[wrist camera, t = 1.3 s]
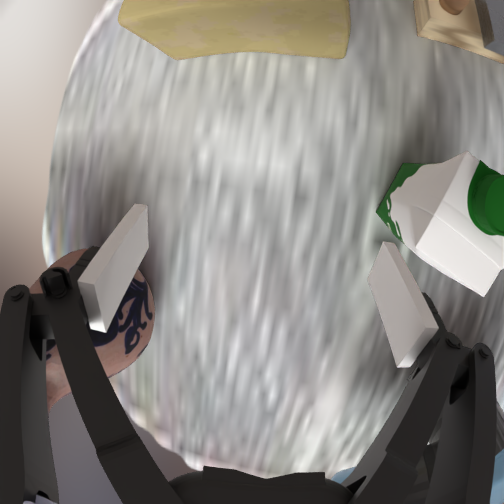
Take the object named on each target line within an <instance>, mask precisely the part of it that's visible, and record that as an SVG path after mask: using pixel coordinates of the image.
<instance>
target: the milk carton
mask: <svg viewBox="0 0 504 504" xmlns="http://www.w3.org/2000/svg"><path fill="white" fill-rule="evenodd" d="M376 213H377V214H378V215H379V217H380V218H381V219H382V220H383V221H384V223H385V224H386V225H387V226H388V228H389V229H390V230H391V231H392V233H393V234H394V235H395V236H396V237H397V238H398V239H399V240H400V241H402V242H403V243H404V244H405V245H406V246H407V247H408V248H409V249H411V250H412V251H413V252H414V253H415V254H416V255H417V256H419V257H420V258H421V259H422V260H424V261H425V262H426V263H428V264H430V265H431V266H433V267H434V268H436V269H437V270H439V271H440V272H442V273H443V274H445V275H447V276H448V277H450V278H452V279H454V280H455V281H457V282H459V283H461V284H462V285H464V286H466V287H468V288H469V289H471V290H473V291H474V292H476V293H478V294H479V295H481V296H483V297H484V296H485V295H486V293H487V292H488V290H489V288H490V287H491V285H492V284H493V282H494V280H495V279H496V277H497V275H498V274H499V272H500V270H503V268H504V175H501V174H500V173H498V172H497V171H495V170H492V169H490V168H489V167H488V166H487V165H485V164H484V163H483V162H482V161H481V160H480V161H479V160H477V159H476V158H475V157H474V156H473V155H472V154H471V153H469V152H468V151H465V152H463V153H461V154H459V155H457V156H455V157H453V158H451V159H449V160H447V161H445V162H443V163H433V164H416V163H403V164H402V166H401V168H400V170H399V172H398V173H397V175H396V177H395V179H394V181H393V183H392V184H391V186H390V188H389V190H388V192H387V193H386V195H385V197H384V199H383V201H382V202H381V204H380V206H379V208H378V209H377V211H376Z"/></svg>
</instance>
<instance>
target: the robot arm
mask: <svg viewBox="0 0 504 504" xmlns="http://www.w3.org/2000/svg"><path fill="white" fill-rule="evenodd" d="M148 248H149V238H148V205H143V204H134V205H133V206H132V207H131V209H130V210H129V211H128V212H127V214H126V215H125V216H124V218H123V219H122V220H121V221H120V223H119V224H118V225H117V227H116V228H115V229H114V231H113V232H112V233H111V235H110V236H109V237H108V239H107V240H106V241H105V243H104V244H103V245H102V247H101V248H100V247H94V246H92V247H91V248H89V249H88V250H86V251H85V252H84V253H83V254H82V256H81V257H80V258H79V260H78V261H77V262H76V264H75V265H74V266H73V268H72V269H71V270H70V272H68V271H67V269H65V268H63V267H52V268H50V269H47V270H46V271H45V272H43V273H42V275H41V276H40V280H39V282H40V285H41V288H42V291H43V293H37V294H31V293H30V290H29V288H28V287H27V286H25V285H16V286H13V287H11V288H10V289H9V290H8V291H7V292H6V293H5V295H4V299H3V303H2V308H1V313H0V504H59V494H58V486H57V479H56V473H55V468H54V462H53V455H52V448H51V440H50V432H49V421H48V408H47V389H46V339H55V342H56V345H57V349H58V352H59V355H60V359H61V362H62V365H63V368H64V371H65V374H66V377H67V380H68V383H69V386H70V388H71V391H72V394H73V397H74V399H75V402H76V404H77V407H78V409H79V412H80V414H81V417H82V419H83V421H84V424H85V426H86V428H87V431H88V433H89V435H90V437H91V439H92V442H93V444H94V446H95V448H96V454H97V456H98V459H99V461H100V463H101V465H102V467H103V469H104V471H105V473H106V474H107V476H108V478H109V480H110V482H111V484H112V485H113V487H114V489H115V491H116V492H117V494H118V496H119V498H120V499H121V501H122V503H123V504H502V503H503V502H504V412H503V410H502V408H501V407H500V405H499V403H498V402H497V399H496V381H495V368H494V357H493V353H492V352H491V350H490V349H489V348H488V347H487V346H486V345H484V344H482V343H477V344H476V345H475V346H474V347H473V349H469V348H466V347H463V346H462V343H461V341H460V340H459V338H458V337H457V336H455V335H454V334H452V333H448V332H447V330H446V328H445V326H444V324H443V322H442V320H441V318H440V316H439V314H438V312H437V310H436V308H435V306H434V304H433V302H432V300H431V299H430V298H429V297H428V295H427V294H426V293H422V292H421V291H420V289H419V287H418V285H417V283H416V281H415V279H414V277H413V276H412V274H411V272H410V270H409V268H408V266H407V265H406V263H405V261H404V259H403V257H402V256H401V254H400V252H399V250H398V249H397V247H396V245H395V243H390V242H385V241H383V243H382V245H381V248H380V250H379V253H378V255H377V257H376V260H375V262H374V265H373V267H372V269H371V271H370V274H369V276H368V278H367V280H368V283H369V285H370V288H371V291H372V294H373V296H374V299H375V302H376V305H377V308H378V310H379V313H380V316H381V319H382V322H383V325H384V328H385V331H386V334H387V337H388V340H389V343H390V347H391V350H392V353H393V356H394V359H395V363H396V366H397V367H411V365H412V364H413V363H414V361H415V360H417V363H418V367H417V368H416V369H415V370H414V372H413V373H412V374H411V375H410V376H409V378H408V379H407V380H409V382H408V384H407V386H406V388H405V390H404V391H403V393H402V395H401V397H400V399H399V401H398V402H397V404H396V406H395V408H394V409H393V411H392V413H391V414H390V416H389V418H388V419H387V421H386V423H385V424H384V426H383V428H382V429H381V431H380V432H379V434H378V435H377V437H376V438H375V440H374V442H373V443H372V445H371V446H370V448H369V449H368V451H367V452H366V453H365V455H364V456H363V458H362V459H361V461H360V462H359V463H358V465H357V466H356V467H353V468H349V469H345V470H342V471H340V472H338V473H336V474H335V475H334V476H333V477H332V479H331V480H330V479H326V478H325V472H309V473H293V474H288V475H284V476H279V477H274V478H269V479H264V478H260V477H257V476H253V475H250V474H247V473H244V472H241V471H237V470H234V469H225V468H217V467H209V466H204V467H203V471H198V472H192V473H187V474H184V475H181V476H179V477H176V478H175V479H173V480H171V481H169V482H168V481H167V480H166V478H165V477H164V475H163V474H162V472H161V471H160V469H159V468H158V466H157V465H156V463H155V462H154V460H153V458H152V457H151V455H150V453H149V452H148V450H147V449H146V447H145V445H144V444H143V442H142V440H141V439H140V437H139V436H138V435H137V433H136V431H135V430H134V428H133V426H132V424H131V423H130V421H129V419H128V417H127V415H126V413H125V411H124V409H123V407H122V405H121V404H120V402H119V400H118V398H117V396H116V394H115V392H114V389H113V387H112V385H111V383H110V381H109V379H108V377H107V375H106V373H105V370H104V368H103V366H102V364H101V361H100V359H99V357H98V354H97V352H96V350H95V347H94V345H93V342H92V340H91V337H90V335H89V332H88V330H87V327H86V323H87V321H89V325H90V328H91V329H93V330H97V331H101V332H105V333H106V332H107V330H108V327H109V325H110V323H111V321H112V319H113V317H114V315H115V313H116V311H117V309H118V306H119V304H120V302H121V300H122V298H123V296H124V294H125V292H126V290H127V288H128V286H129V284H130V282H131V280H132V279H133V277H134V275H135V273H136V271H137V269H138V267H139V265H140V263H141V261H142V259H143V258H144V256H145V254H146V252H147V250H148ZM428 442H429V443H430V444H429V445H427V444H428Z"/></svg>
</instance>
